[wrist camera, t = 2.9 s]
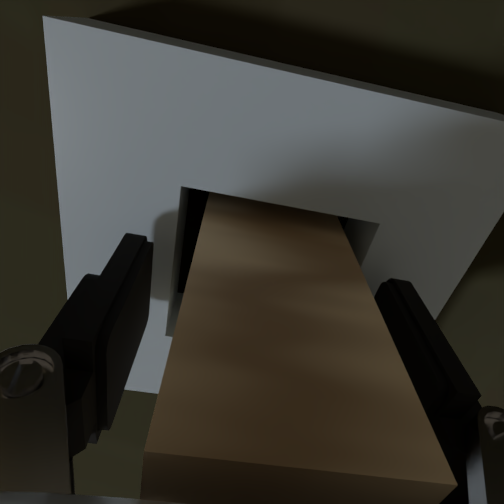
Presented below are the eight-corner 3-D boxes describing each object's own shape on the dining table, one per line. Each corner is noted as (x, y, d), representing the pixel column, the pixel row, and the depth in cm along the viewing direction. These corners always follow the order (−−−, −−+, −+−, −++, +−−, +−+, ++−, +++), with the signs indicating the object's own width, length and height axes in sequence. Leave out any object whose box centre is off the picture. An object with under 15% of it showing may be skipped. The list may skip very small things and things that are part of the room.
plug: (332, 204, 12) (458, 484, 5) (299, 297, 15) (351, 590, 7) (211, 181, 12) (142, 451, 4) (196, 280, 14) (134, 574, 7)
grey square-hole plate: (497, 112, 11) (553, 132, 9) (356, 373, 17) (371, 420, 15) (87, 17, 10) (42, 15, 8) (97, 337, 16) (75, 382, 14)
